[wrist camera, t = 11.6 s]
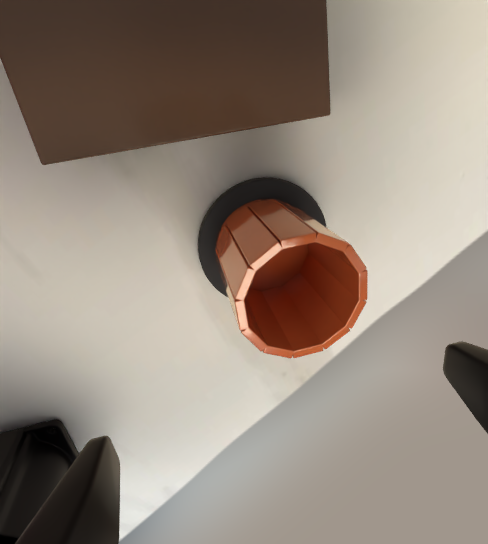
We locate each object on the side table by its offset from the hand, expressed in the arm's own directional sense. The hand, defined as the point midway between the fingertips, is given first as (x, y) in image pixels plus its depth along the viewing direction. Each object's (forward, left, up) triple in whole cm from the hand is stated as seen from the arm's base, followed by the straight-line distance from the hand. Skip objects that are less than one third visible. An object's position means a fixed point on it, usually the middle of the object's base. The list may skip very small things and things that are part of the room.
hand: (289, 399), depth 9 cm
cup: (-1, -2, -12) cm, 12 cm away
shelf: (+10, +1, -12) cm, 16 cm away
